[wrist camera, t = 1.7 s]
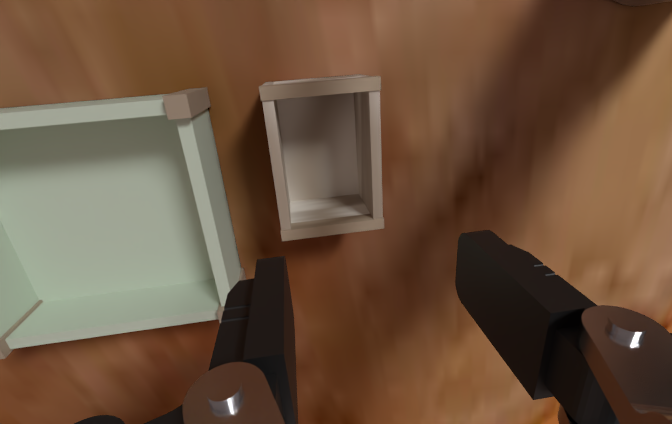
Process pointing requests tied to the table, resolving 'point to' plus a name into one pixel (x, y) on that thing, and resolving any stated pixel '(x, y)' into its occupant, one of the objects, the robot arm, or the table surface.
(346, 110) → the small crate
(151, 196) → the large crate
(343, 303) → the table surface
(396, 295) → the table surface
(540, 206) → the table surface
